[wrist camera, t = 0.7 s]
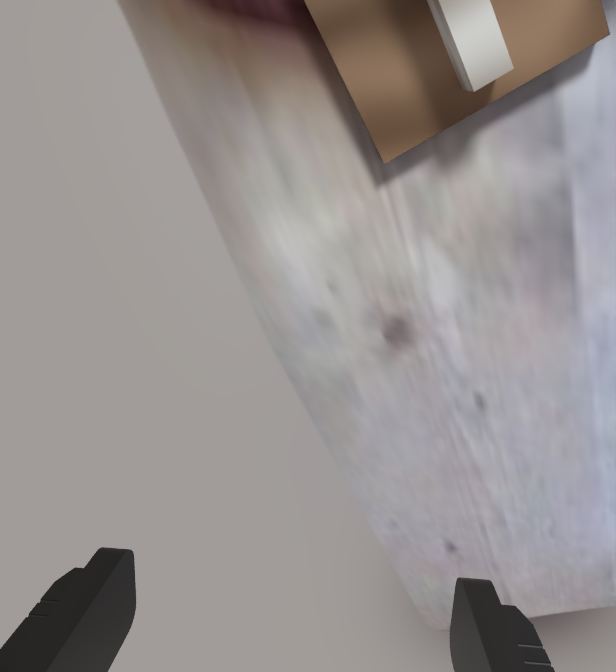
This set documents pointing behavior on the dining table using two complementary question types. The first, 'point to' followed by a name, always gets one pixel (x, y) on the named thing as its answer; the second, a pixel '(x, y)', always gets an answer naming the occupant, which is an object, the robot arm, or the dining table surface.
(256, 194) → the dining table surface
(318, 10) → the rail board
